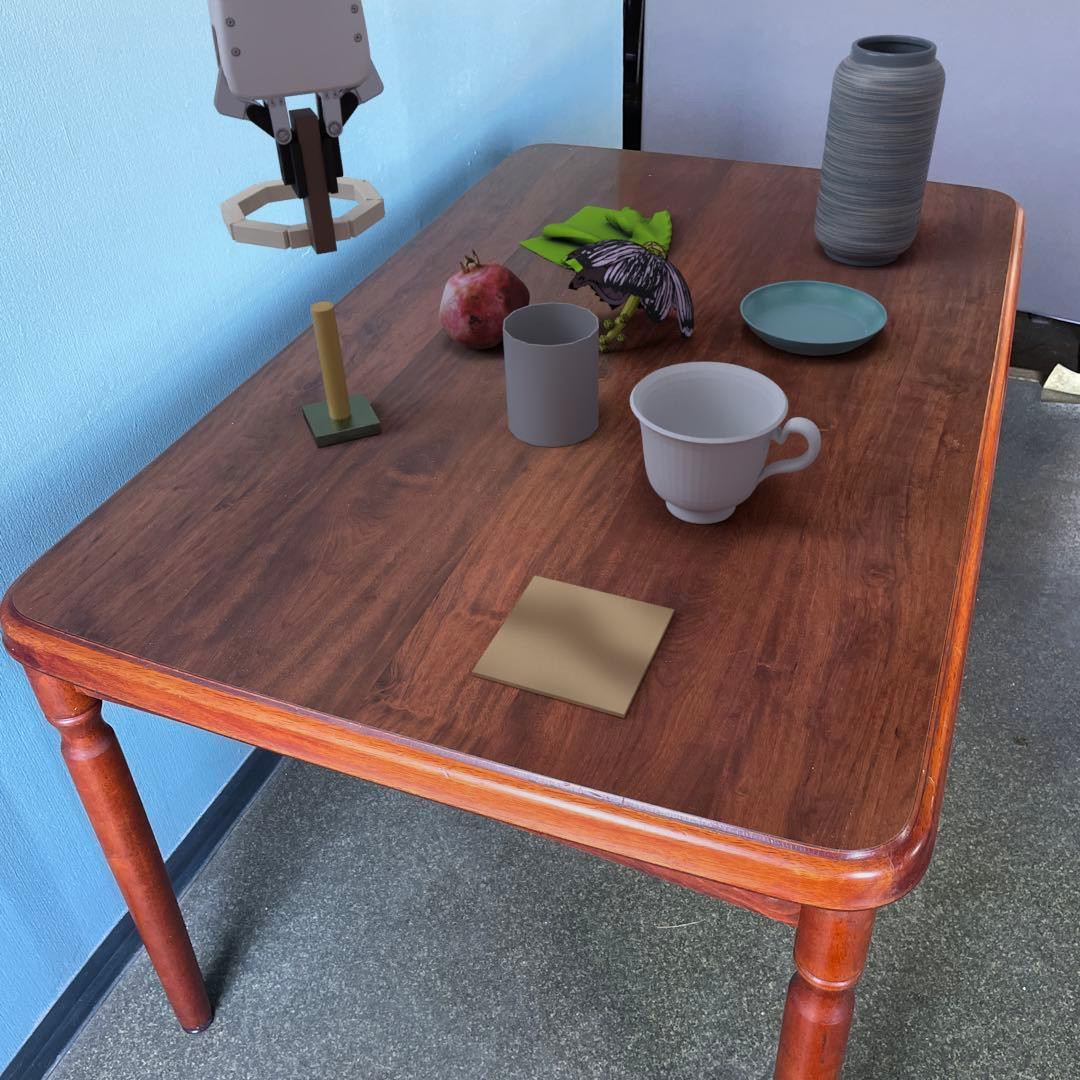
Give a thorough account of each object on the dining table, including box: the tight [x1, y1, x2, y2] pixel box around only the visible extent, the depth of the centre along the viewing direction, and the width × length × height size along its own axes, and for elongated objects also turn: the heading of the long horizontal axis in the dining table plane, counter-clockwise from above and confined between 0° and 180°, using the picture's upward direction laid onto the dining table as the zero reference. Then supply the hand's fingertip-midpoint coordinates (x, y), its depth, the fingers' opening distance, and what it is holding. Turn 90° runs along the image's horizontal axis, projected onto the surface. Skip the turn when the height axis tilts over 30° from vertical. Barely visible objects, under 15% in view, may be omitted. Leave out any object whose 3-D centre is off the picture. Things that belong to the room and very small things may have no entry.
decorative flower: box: [564, 239, 695, 353], centre depth 109 cm, size 14×12×15 cm
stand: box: [301, 300, 382, 449], centre depth 96 cm, size 6×6×12 cm
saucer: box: [739, 280, 888, 357], centre depth 111 cm, size 15×15×3 cm
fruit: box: [438, 248, 531, 350], centre depth 109 cm, size 9×10×10 cm
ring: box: [219, 107, 386, 255], centre depth 84 cm, size 14×12×10 cm
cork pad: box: [471, 575, 676, 719], centre depth 76 cm, size 11×11×1 cm
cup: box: [503, 301, 600, 448], centre depth 96 cm, size 8×8×10 cm
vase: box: [813, 34, 946, 267], centre depth 120 cm, size 12×12×23 cm
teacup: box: [629, 361, 822, 525], centre depth 85 cm, size 12×15×10 cm
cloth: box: [518, 205, 673, 273], centre depth 132 cm, size 20×22×2 cm
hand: (314, 189), depth 80 cm, fingers closed on ring
